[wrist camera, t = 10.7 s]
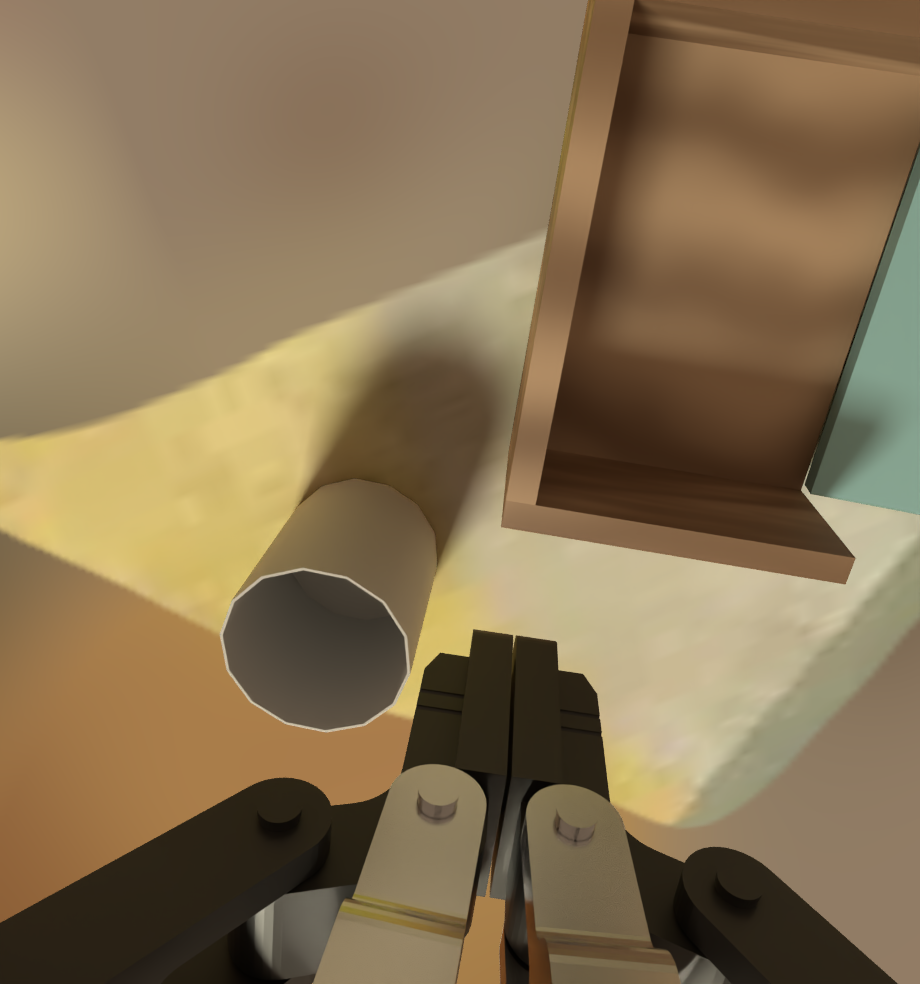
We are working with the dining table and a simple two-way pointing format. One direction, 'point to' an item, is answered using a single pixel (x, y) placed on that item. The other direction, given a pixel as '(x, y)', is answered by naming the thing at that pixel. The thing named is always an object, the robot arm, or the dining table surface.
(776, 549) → the box
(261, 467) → the dining table surface
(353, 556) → the cup
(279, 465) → the dining table surface
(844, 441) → the panel
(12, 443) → the dining table surface
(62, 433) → the dining table surface
